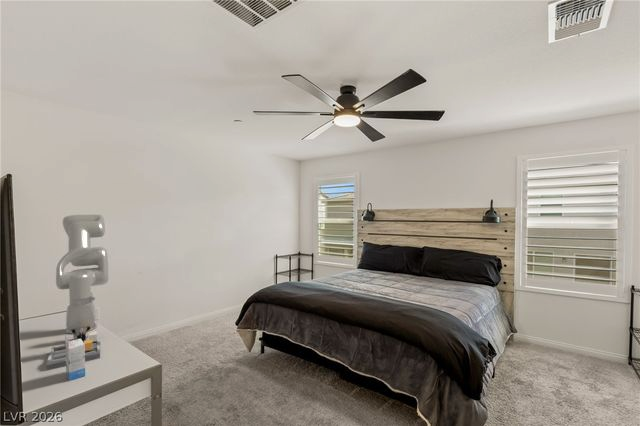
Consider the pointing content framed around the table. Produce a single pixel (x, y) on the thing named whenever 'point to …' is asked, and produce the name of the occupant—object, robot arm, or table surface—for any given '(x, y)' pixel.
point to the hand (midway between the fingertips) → (81, 342)
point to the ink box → (75, 358)
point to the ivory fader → (93, 336)
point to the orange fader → (88, 345)
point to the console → (59, 355)
